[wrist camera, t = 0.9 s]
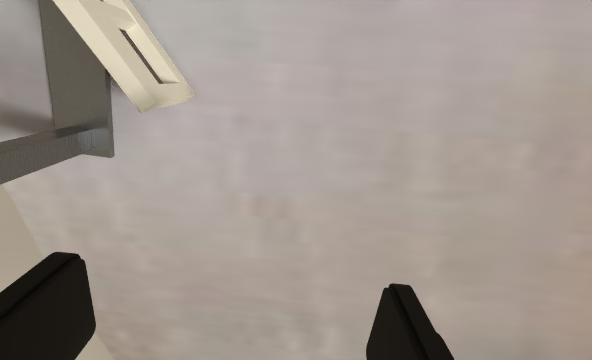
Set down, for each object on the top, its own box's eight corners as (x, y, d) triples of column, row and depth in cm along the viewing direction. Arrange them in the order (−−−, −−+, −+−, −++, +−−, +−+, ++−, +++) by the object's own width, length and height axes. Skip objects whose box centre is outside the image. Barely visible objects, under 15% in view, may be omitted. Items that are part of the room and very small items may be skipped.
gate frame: (30, -115, 26) (-234, -308, 13) (98, -101, 27) (-91, -275, 13) (63, 148, 34) (-77, 193, 21) (114, 156, 35) (8, 204, 22)
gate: (70, -59, 27) (-50, -131, 17) (81, -69, 27) (-33, -148, 17) (184, 101, 32) (140, 112, 23) (195, 94, 32) (155, 102, 22)
